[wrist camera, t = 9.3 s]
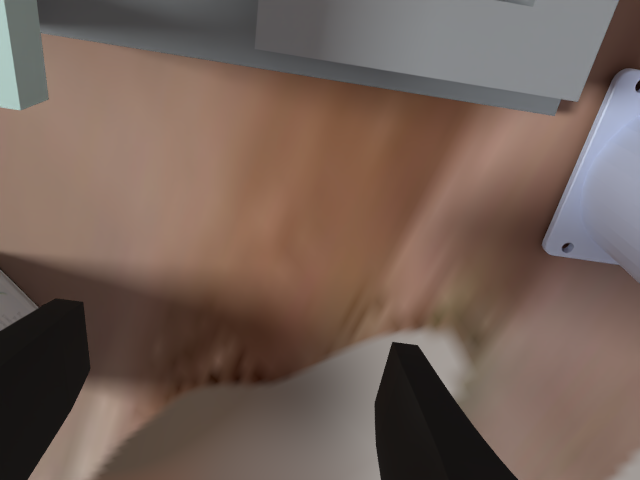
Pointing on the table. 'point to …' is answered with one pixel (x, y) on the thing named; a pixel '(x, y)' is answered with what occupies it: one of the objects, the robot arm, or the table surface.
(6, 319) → the syrup box
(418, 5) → the socket stand
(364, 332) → the table surface
